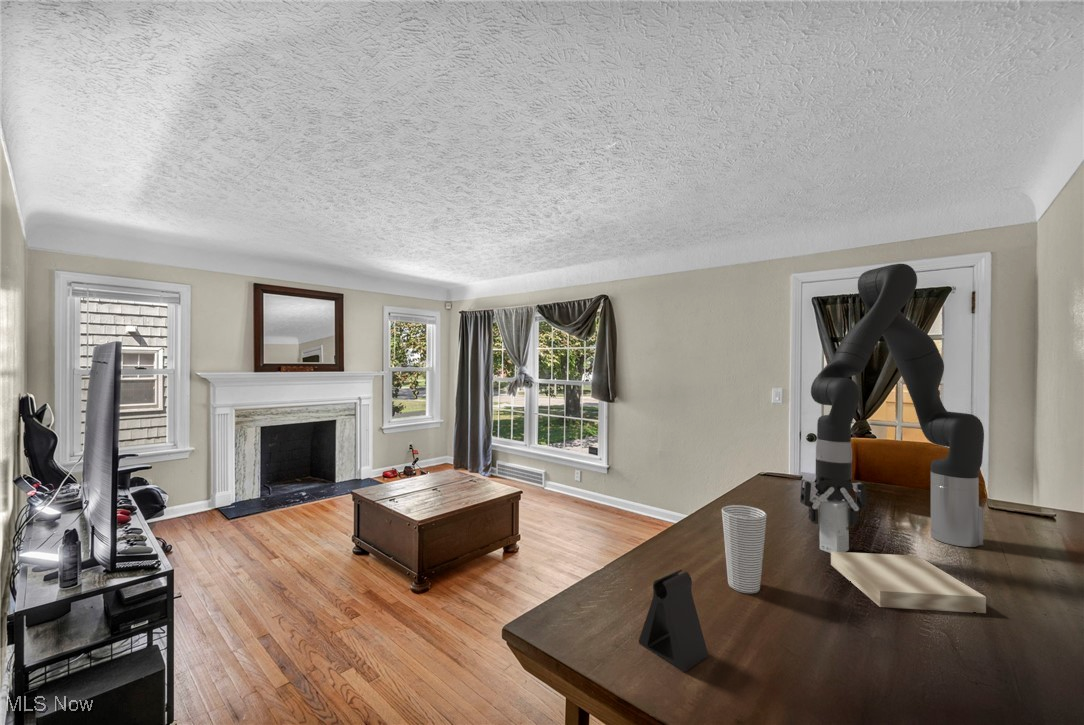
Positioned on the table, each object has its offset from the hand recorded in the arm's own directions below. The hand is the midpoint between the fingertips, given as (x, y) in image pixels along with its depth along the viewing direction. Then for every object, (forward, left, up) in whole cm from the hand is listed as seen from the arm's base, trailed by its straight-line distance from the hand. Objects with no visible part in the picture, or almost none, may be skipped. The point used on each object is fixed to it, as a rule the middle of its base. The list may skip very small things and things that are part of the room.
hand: (832, 524), depth 112 cm
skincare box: (0, 0, -7) cm, 7 cm away
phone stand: (+46, +45, -7) cm, 64 cm away
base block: (-4, +18, -6) cm, 19 cm away
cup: (+28, +22, -7) cm, 36 cm away
